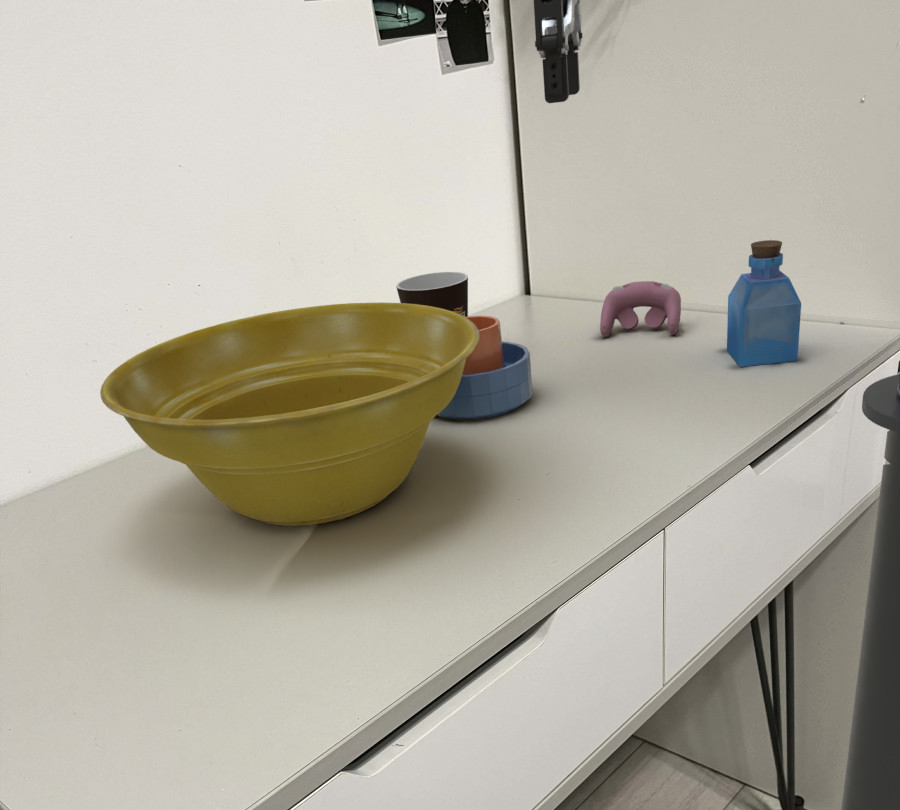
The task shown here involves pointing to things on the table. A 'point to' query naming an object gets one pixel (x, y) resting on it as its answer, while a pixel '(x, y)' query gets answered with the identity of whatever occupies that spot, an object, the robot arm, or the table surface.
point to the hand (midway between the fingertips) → (563, 98)
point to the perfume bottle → (763, 311)
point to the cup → (485, 347)
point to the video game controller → (638, 295)
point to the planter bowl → (298, 403)
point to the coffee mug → (436, 291)
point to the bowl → (493, 388)
